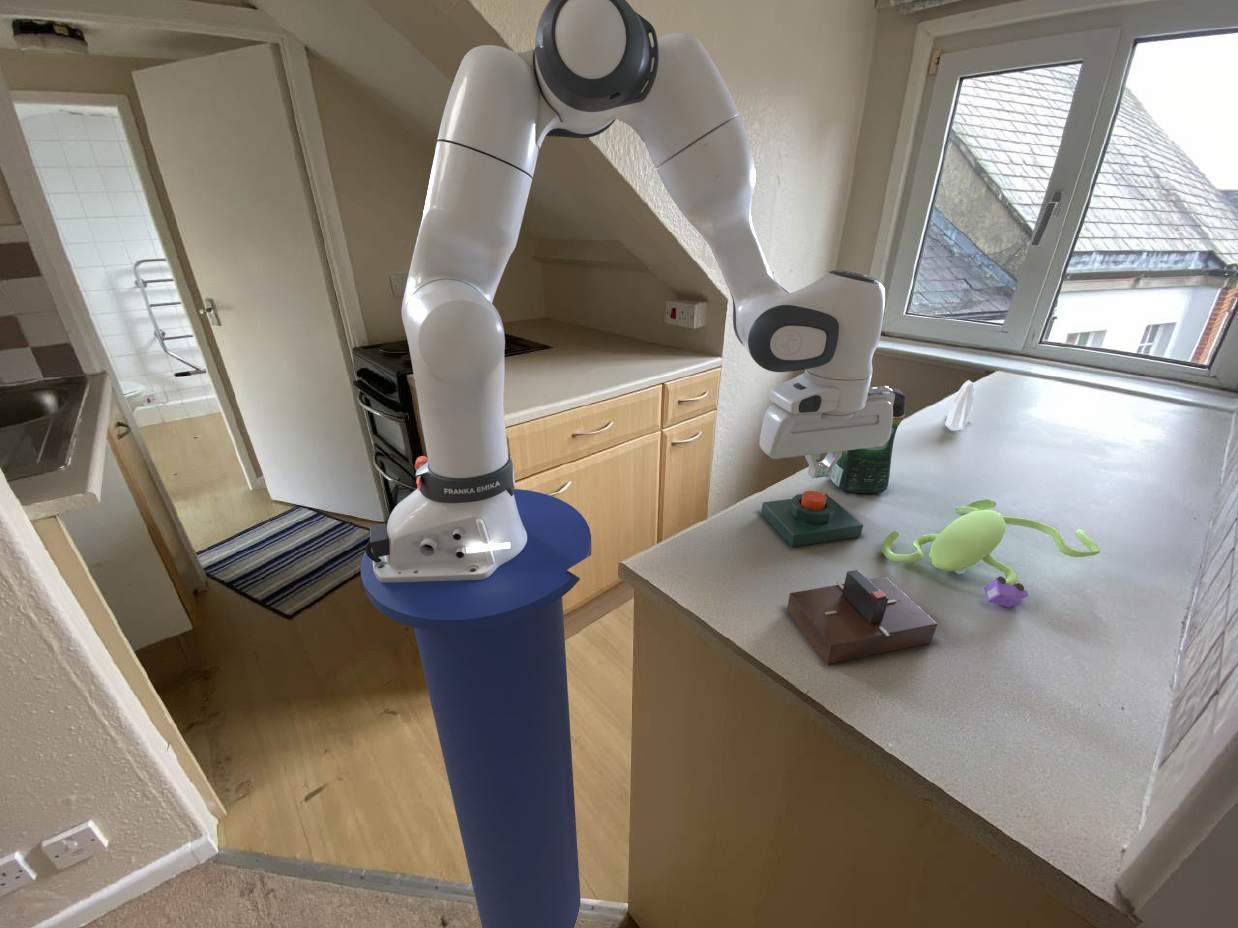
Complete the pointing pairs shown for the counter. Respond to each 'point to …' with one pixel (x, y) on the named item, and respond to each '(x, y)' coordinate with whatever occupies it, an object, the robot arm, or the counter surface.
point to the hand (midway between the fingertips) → (818, 475)
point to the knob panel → (858, 622)
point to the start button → (813, 500)
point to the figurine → (982, 547)
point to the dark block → (865, 596)
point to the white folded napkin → (961, 407)
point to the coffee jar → (869, 460)
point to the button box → (810, 521)
